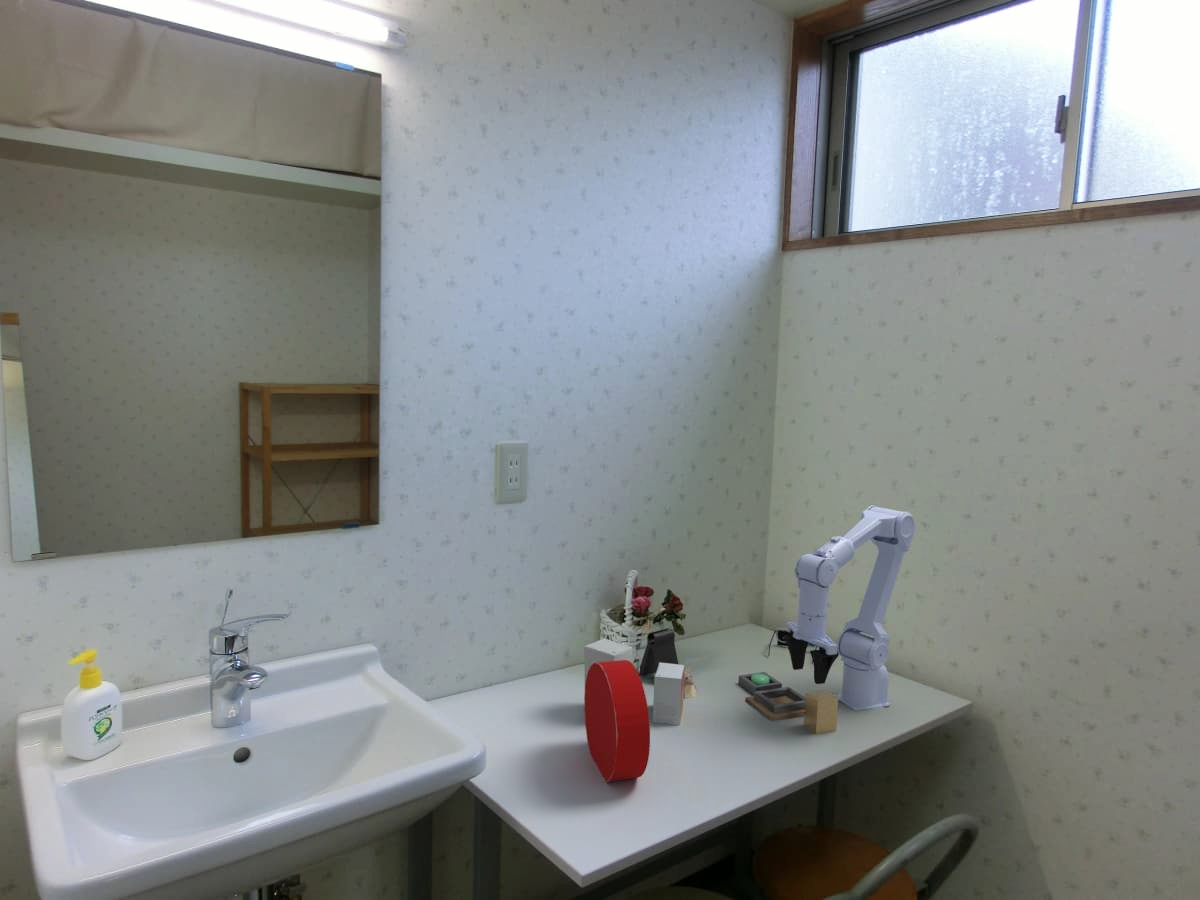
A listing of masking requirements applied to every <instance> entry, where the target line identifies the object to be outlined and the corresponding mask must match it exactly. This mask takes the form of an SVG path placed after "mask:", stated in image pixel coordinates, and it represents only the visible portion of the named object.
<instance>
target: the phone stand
mask: <svg viewBox="0 0 1200 900" xmlns="http://www.w3.org/2000/svg"><path fill="white" fill-rule="evenodd" d="M646 638H647V639H646V641H647V643H646V647H645V651H644V653H643V657H642V659H641V663H640V666H639V668H640V675H639V676H641V675H642V676H641V677H644V675H645V676H648V674H649V675H652V674H656V672H657V669H658V665H659V663H669V664H679V660H678V655H677V649H676V643H675V638H676V634H675V630H673V628H671V629H670V627H668V628H663V629H660V630H655V631H651V632H648V634H647V637H646Z"/></svg>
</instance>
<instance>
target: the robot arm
mask: <svg viewBox="0 0 1200 900" xmlns="http://www.w3.org/2000/svg"><path fill="white" fill-rule="evenodd" d="M915 531H916V523H915V520H914V516H913V515H912V514H911V512H908V511H900V510H895V509H890V508H886V507H885V508H884V507H881V506H877V505H873V504H872V505H869V506H868V507H867V508H866V509H864V510H863V511H861V516H860V521H858V522H857V523H856V524H855V525H854V526H853V527H852V528H851V529H850V530H849V531H848V532H847V533H846V534H845V535H844V536H841V535H840V536H839V535H836V536H832V537H831V538H830V540H829V541H828V542H826V543H825V544H823V545H822V546H821V547H820V548H818V549H817V550H815V551H814V552H813V553H806V554H803V555H801V556H800V557H799V558H798V559H797V562H796V565H795V567H794V569H793V570H794V574H795V577H796V579H797V580H796V581H797V587H798V589H799V593H798V594H799V596H798V614H797V616H798V617H797V622H796V621H790V622H788V621H787V623H786V629H787V631H788V632H790V634H789V635H785V636H784V640H785V642H786V644H787V646H786V647H787V648H788V651H789V655H790V660H791V666H792V670H795V671H797V670H799V671H800V670H803V669H804V666H805V660H806V653H807V650H808V647H807V646H808V643H809V642H810V643H812V644H814V645H815V646H817V648H818V649H816V650H815V649H812V650H810V651H809V653H810V656H811V659H812V660H813V664H812V665H813V680H814V684H815V685H822V684H825V683H826V680H827V678H828V675H829V672H830V670H831V668H832V667H833V664H834V662H835V661H836V660H837V659H838V657H839V656H841V659H840V660H841V661H842V662H843V671H842V672H843V673H842V688H841V689H842V690H841V693H837V694H833V695H834V696H836V697H838V701H841V702H842V703H844V704H845V705H847V706H849V707H850V708H852V709H854V710H855V711H860V710H865V709H871V708H878V707H883V708H886V707H890V705H891V703H889V702H888V697H889V696H888V695H889V679H890V677H889V676H890V675H889V672H888V669H887V667H886V665H885V663H886V662H887V660H888V656H889V644H890V640H891V638H890V636H889V634H888V633H887V632H886V630H885V628H884V627H883V625H882V624H883V622H884V619H885V616H886V612H887V610H888V607H889V604H890V600H891V597H892V594H893V591H894V588H895V585H896V581H897V578H898V574H899V572H900V569H901V567H902V566H901V565H902V563H903V559H904V556H905V553H906V552H909V550H910V548H911V547H910V546H911V543H912V540H913V539H914V534H915ZM869 541H871V542H872V544H874V545H875V546H876V548H877V551H878V554H877V557H876V559H875V563H874V566H873V569H872V572H871V575H870V579H869V581H868V584H867V588H866V591H865V594H864V596H863V599H862V600H863V601H862V602H861V606H860V610H859V613H858V615H857V617H855V618H853V619H850V620H848V621H846V622H845V624H844V628H843V629H842V631H841V632H840V633H839V636H838V637H837V640H836V643H835V642H834V641H833V640H832V639H831V638H830V637H829V636H828V634H827V619H828V604H829V589H830V588H829V587H830V585H832V584H833V583H834V581H835V579H836V577H837V575H838V574H839V572H840V569H841V568H842V567H844V566H845V565H846V564H848V563H849V562H850V561H851V560H852V559H854V556H855V551H856V549H858V548H859V547H861V546H863V545H864V544H865V543H867V542H869ZM863 633H864V634H863ZM866 634H867V635H866Z"/></svg>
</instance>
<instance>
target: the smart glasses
mask: <svg viewBox="0 0 1200 900" xmlns="http://www.w3.org/2000/svg"><path fill="white" fill-rule="evenodd" d="M789 634H790V632H788V631H787V628H785V627H783V628H775V629H774V630H773V634H772V636H771V638H770V642H769V645H768V653H767V654H768V657H770V654H771V653H770V651H771V644H772V642H773V639H774V637H776V640H777V641H776V643H777V646H780V647H781V646H782V647H783V646H784V647H788V646H787V644H786V642H785V640H784V636H785V635H789ZM807 648H814V650H818V647H817V646H815V645H814V644H812V643H810V642H809V643H808V646H807ZM811 661H812V662H811V665H813V659H812V660H811Z"/></svg>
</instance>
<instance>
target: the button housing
mask: <svg viewBox="0 0 1200 900" xmlns="http://www.w3.org/2000/svg"><path fill="white" fill-rule="evenodd" d="M753 674H764V675H767V676H768V677H769V684H762V685H756V684H754V683H753V682H752V681H751V676H752V675H753ZM737 683H738V685H739V686H740V687H742V688H744V689H745V690H746V691H747V692H749V693H750V694H751V695H753V696H754V692H757V691H764V690H771V689H777V688H783V683H782V682H780V681H779V680H778V679H776V678H775V677H773V676H771V675H770V674H768V673H767V672H765V671H761V672H754V673H748V674H741V675H738V682H737Z"/></svg>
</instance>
